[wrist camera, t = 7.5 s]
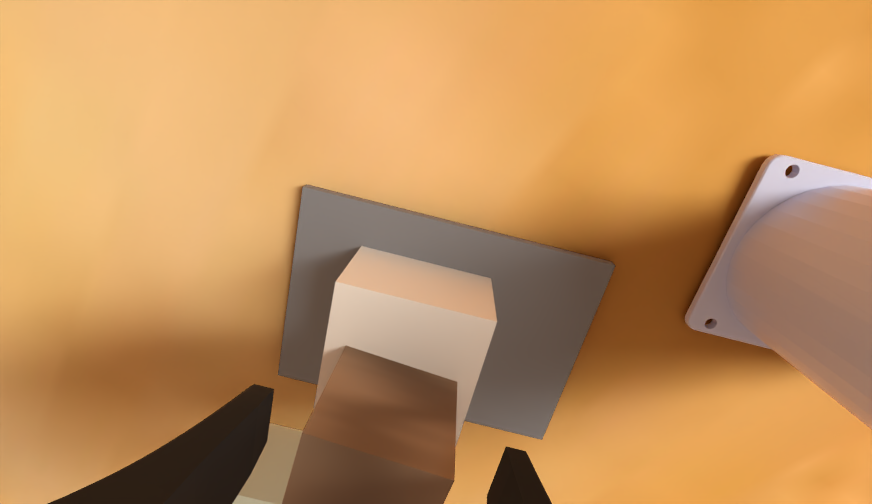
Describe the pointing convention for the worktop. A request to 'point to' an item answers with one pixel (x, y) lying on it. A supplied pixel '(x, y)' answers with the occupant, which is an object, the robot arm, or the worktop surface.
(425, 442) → the walnut block
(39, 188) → the worktop surface
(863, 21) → the worktop surface
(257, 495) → the sage green block
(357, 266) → the off-white block
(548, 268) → the mat
